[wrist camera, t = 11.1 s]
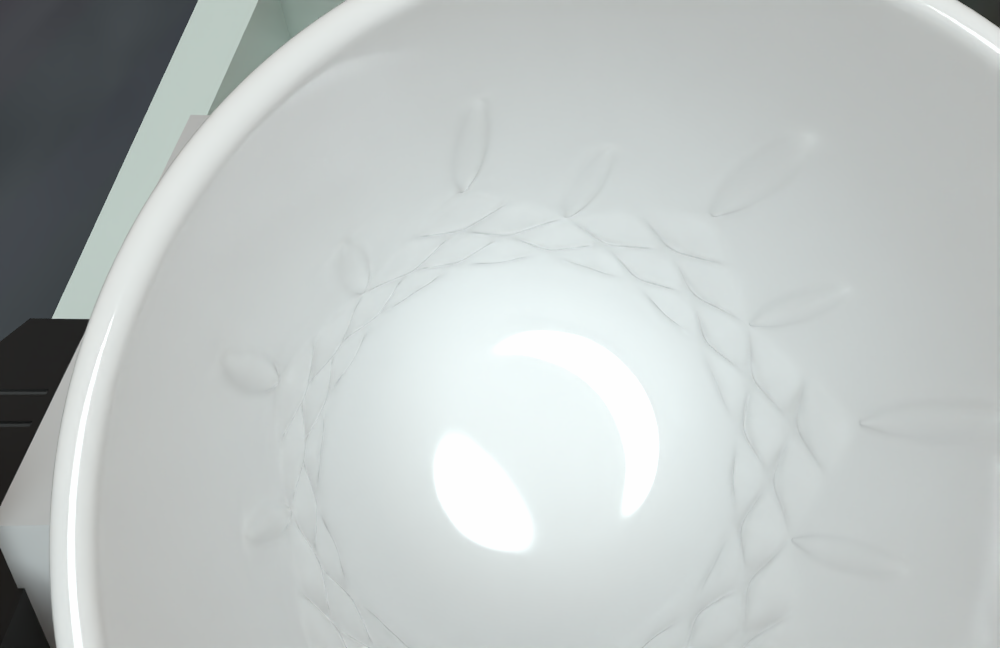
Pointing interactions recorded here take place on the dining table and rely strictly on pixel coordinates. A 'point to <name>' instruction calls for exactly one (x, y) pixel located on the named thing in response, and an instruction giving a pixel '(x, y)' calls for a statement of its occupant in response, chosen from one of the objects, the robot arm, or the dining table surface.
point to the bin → (183, 116)
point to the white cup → (556, 340)
